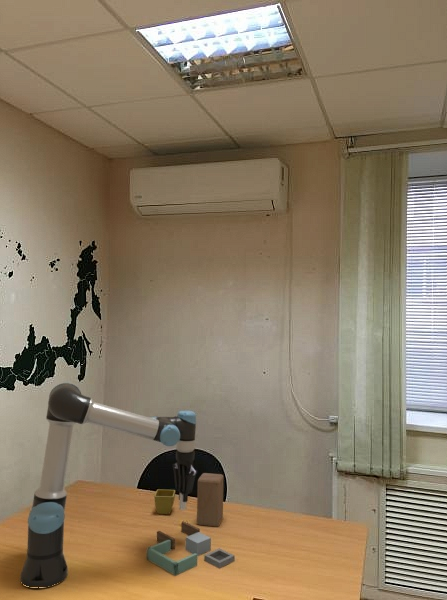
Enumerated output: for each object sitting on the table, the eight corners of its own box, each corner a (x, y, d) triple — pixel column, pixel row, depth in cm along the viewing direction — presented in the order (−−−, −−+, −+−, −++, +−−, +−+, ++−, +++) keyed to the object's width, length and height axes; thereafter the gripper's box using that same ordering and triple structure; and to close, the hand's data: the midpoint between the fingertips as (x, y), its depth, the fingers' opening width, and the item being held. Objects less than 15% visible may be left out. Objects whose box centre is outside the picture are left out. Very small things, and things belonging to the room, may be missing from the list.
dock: (175, 575, 170) (175, 564, 170) (146, 559, 181) (147, 548, 181) (197, 565, 177) (197, 554, 178) (168, 549, 189) (168, 539, 189)
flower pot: (172, 516, 221) (173, 496, 221) (153, 516, 221) (154, 496, 222) (175, 509, 230) (175, 489, 230) (156, 508, 230) (157, 489, 230)
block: (197, 556, 184) (197, 543, 185) (185, 550, 189) (185, 537, 189) (210, 550, 189) (210, 537, 189) (198, 544, 194) (198, 531, 194)
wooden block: (218, 527, 210) (219, 480, 211) (196, 525, 212) (197, 478, 213) (223, 518, 220) (224, 473, 221) (201, 516, 222) (202, 472, 223)
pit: (219, 568, 175) (219, 562, 176) (204, 560, 181) (204, 555, 181) (234, 560, 181) (234, 555, 181) (219, 553, 187) (219, 548, 187)
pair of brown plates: (172, 550, 189) (172, 539, 189) (156, 541, 196) (156, 531, 196) (199, 538, 199) (199, 528, 199) (183, 531, 206) (183, 521, 206)
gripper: (203, 451, 195) (200, 511, 194) (181, 445, 204) (179, 502, 203) (189, 454, 190) (186, 516, 189) (168, 448, 199) (165, 506, 198)
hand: (182, 509), depth 196 cm, fingers closed
